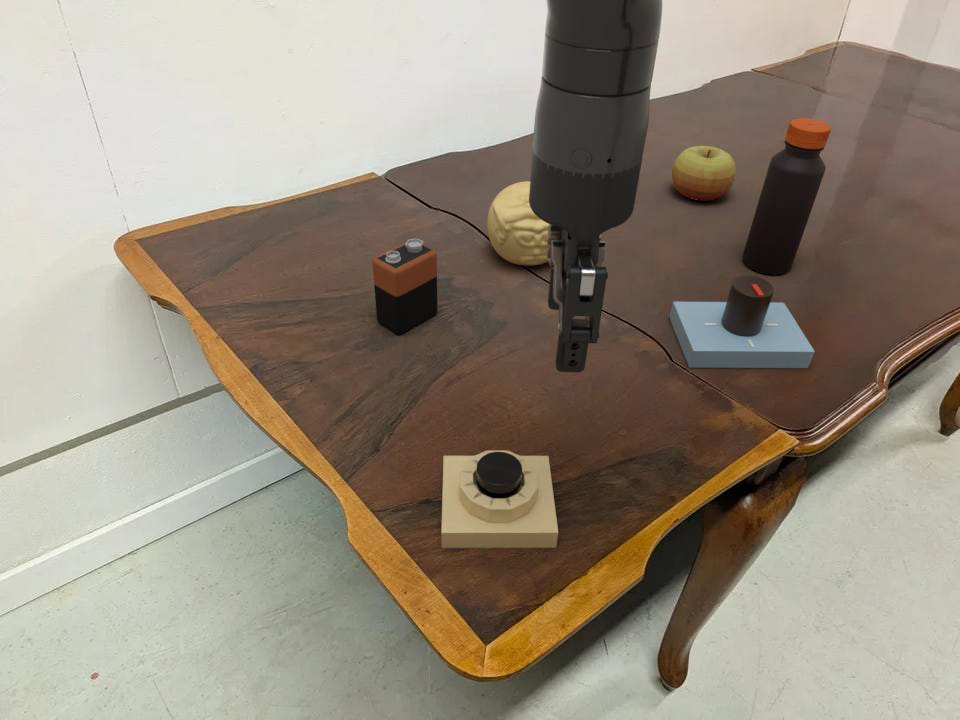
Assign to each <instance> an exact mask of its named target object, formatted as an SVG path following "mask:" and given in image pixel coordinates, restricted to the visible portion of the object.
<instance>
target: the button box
mask: <svg viewBox="0 0 960 720" xmlns="http://www.w3.org/2000/svg"><path fill="white" fill-rule="evenodd" d="M492 452H505V453H509V454H511V455H513V456H515V457H516V458H517V459H518V460H519V462H520V463H521V466H522V479H521V486H520V488H519V490H518V491H517V492H516V493H515V494H514V495H512V496H510V497H507V498H492V497H489V496H487V495H485V494H484V493H482V492H481V491H480V490H479V488H478V486H477V483H476V468H477V463H478V461H479V460H480V459H481V458H482V457H483V456H484V455H486V454H488V453H492ZM442 461H443V463H442V492H441V493H442V495H441V530H440V534H441V536H440V537H441V549H557V545H558V537H559V527H558V519H557V511H556V505H555V504H556V503H555V502H556V501H555V497H554V496H555V494H554V489H553V488H554V487H553V481H552V473H551V464H550V457H549V455H519V454H517V453H515V452H512V451H510V450H507V449H506V450H505V449H503V450H499V449H497V450H494V449H493V450H491V449H490V450H485V451H482V452H479V453H478V454H476V455H443V460H442Z"/></svg>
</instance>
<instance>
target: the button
mask: <svg viewBox="0 0 960 720" xmlns="http://www.w3.org/2000/svg"><path fill="white" fill-rule="evenodd" d="M521 479H522V466H521V463H520V462H519V460H518V459H517V458H516V457H515V456H513V455H511V454H509V453H505V452H492V453H488V454H486V455H484V456H483V457H482V458H481V459H480V460H479V461H478V463H477V468H476V483H477V486H478V488H479V490H480V491H481V492H482V493H484V494H485V495H487V496H489V497H492V498H507V497H510V496H512V495H514V494H515V493H516V492H517V491H518V490H519V488H520V486H521Z"/></svg>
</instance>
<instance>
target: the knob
mask: <svg viewBox="0 0 960 720" xmlns="http://www.w3.org/2000/svg"><path fill="white" fill-rule="evenodd" d="M728 292H729V293H728V296H727V298H726V299H727V300H726V302H727V303H726V306H725V310H724V313H723V317H722V320H721V323H722V325H723V327H724V328H725V329H726V330H728V331H729V332H731V333H733V334H736V335H739V336H754V335H757V334H758V333H760V331H761V329H762V326H763V323H764V320H765V317H766V314H767V311H768V308H769V305H770V302H771V301H772V299H773V296H774V292H775V288H774V285H773V284H771V283H770V281H768V280H766V279H764V278H762V277H758V276H756V275H740V276H737V277H735V278H734V279H733V281H732V282H731V286H730V289H729V291H728Z"/></svg>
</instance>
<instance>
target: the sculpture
mask: <svg viewBox="0 0 960 720" xmlns="http://www.w3.org/2000/svg"><path fill="white" fill-rule="evenodd" d="M529 192H530V180H529V181H519V182H515V183H512V184H510V185H508V186H506V187H505V188H503V189H502V190H501V191H499V193H498V194H497V195H496V196H495V197H494V199H493V200H492V201H491V202H492V203H491V204H490V207H489V209H488V213H487V220H486V226H487V235H488V238H489V241H490V244H491V246H492V248H493V249H494V251H495V252H496V253H497V254H498V255H499V256H500V257H501V258H502V259H503V260H505V261H507V262H509V263H511V264H514V265H520V266H530V267H532V266H533V267H534V266H538V265H539V266H540V265H543V264H545V263H548V259H549V258H548V257H547V243H548V227H549V224H548V223H546V222H544V221H543V220H541V219H540V218H539V217H537V216H536V215H535V214H534V212H533V211H532V209H531V207H530V204H529Z"/></svg>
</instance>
